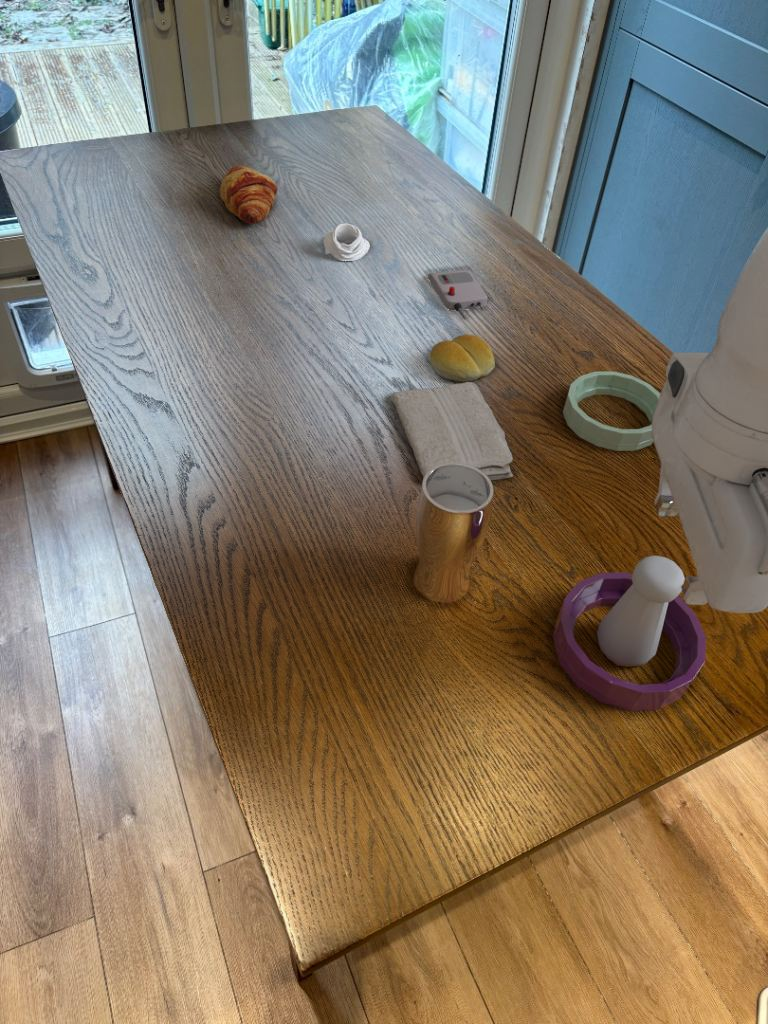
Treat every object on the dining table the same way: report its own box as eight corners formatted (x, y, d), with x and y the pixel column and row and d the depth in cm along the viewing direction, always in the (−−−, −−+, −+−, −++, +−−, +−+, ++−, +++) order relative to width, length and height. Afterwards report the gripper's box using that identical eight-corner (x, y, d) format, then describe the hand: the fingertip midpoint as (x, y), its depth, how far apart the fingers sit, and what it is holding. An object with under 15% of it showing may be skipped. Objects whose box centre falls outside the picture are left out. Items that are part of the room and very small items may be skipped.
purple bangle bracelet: (662, 596, 80) (677, 570, 77) (709, 713, 71) (728, 688, 68) (538, 600, 79) (547, 574, 76) (570, 719, 70) (582, 694, 66)
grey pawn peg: (656, 677, 73) (705, 598, 63) (598, 676, 73) (638, 596, 63) (641, 627, 77) (685, 545, 67) (586, 626, 77) (623, 543, 67)
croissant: (229, 198, 146) (205, 162, 140) (273, 171, 144) (251, 133, 138) (242, 249, 131) (215, 211, 126) (291, 220, 130) (267, 180, 124)
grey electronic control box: (461, 269, 125) (463, 252, 123) (496, 320, 115) (499, 303, 113) (423, 272, 124) (425, 256, 122) (455, 325, 114) (457, 308, 112)
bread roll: (418, 359, 107) (421, 335, 104) (470, 344, 110) (474, 320, 107) (450, 392, 102) (453, 367, 99) (503, 374, 106) (508, 351, 103)
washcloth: (425, 497, 88) (427, 479, 86) (385, 403, 100) (387, 384, 98) (518, 483, 91) (523, 464, 89) (469, 392, 102) (472, 374, 100)
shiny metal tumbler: (420, 553, 82) (434, 452, 71) (480, 573, 81) (504, 473, 70) (398, 600, 78) (409, 500, 67) (461, 622, 76) (484, 523, 65)
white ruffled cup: (364, 246, 130) (366, 218, 127) (374, 262, 126) (376, 233, 122) (319, 247, 128) (320, 218, 125) (327, 263, 124) (328, 233, 120)
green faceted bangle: (640, 394, 104) (649, 371, 101) (670, 456, 96) (681, 432, 93) (552, 395, 103) (558, 371, 100) (574, 457, 95) (582, 433, 92)
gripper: (847, 539, 46) (754, 661, 56) (744, 345, 60) (684, 470, 70) (745, 534, 46) (670, 657, 56) (665, 341, 59) (617, 467, 70)
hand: (677, 552), depth 63 cm, fingers open, 8 cm apart
